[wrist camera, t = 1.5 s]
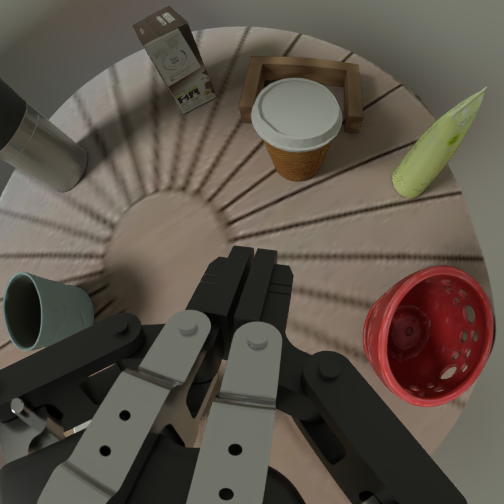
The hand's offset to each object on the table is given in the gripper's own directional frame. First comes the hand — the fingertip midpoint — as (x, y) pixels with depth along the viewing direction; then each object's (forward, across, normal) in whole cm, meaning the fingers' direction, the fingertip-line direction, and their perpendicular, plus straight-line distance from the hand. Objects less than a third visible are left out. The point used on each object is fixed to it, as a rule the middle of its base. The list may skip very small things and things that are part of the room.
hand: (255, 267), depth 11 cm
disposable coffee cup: (+30, 0, +4) cm, 30 cm away
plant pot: (+15, -16, +19) cm, 29 cm away
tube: (+29, -16, +5) cm, 33 cm away
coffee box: (+39, +19, -5) cm, 44 cm away
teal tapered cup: (+11, +30, +23) cm, 40 cm away
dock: (+38, 0, -4) cm, 38 cm away
